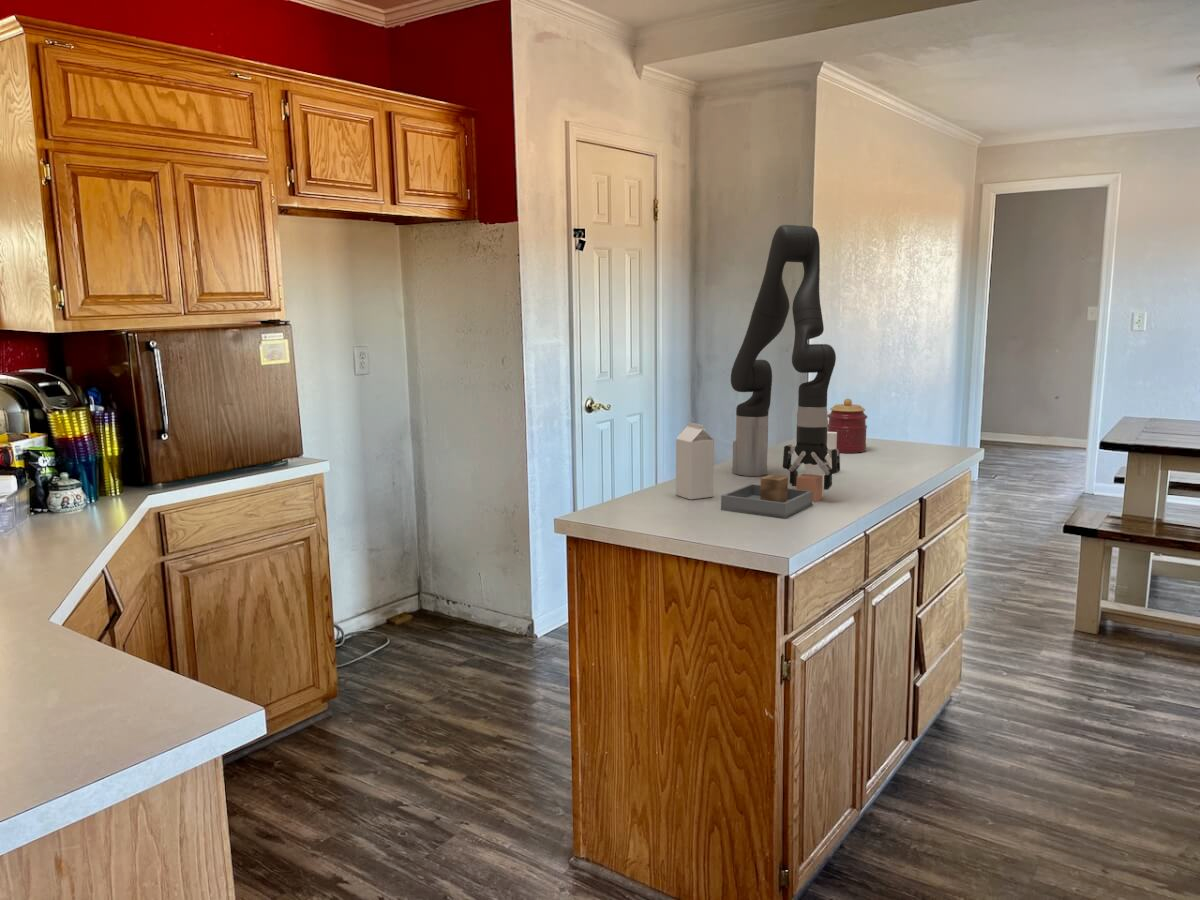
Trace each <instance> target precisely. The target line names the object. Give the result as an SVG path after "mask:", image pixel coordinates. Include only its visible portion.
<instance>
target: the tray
mask: <svg viewBox="0 0 1200 900" xmlns="http://www.w3.org/2000/svg"><path fill="white" fill-rule="evenodd" d="M760 491H761V484H756V483H750V484H747V485H744V486H742V487H740V488H737V489H734V490H731V491H729V492H725V493H724V494H722V495H720V510H721V511H722V510H723V511H728V512H729V511H730V512H736V513H743V514H750V515H757V516H766V517H773V518H779V519H788V518H789V517H791V516H794V515H795V514H797V513H799V512H801V511H804V510H805V509H808V508H809V507H811V506H813V502H812V498H813V491H807V490H798V489H796V488H789V487H788V497H787V501H786V502H784V503H782V502H774V501H767V500H760Z"/></svg>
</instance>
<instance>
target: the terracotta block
mask: <svg viewBox="0 0 1200 900" xmlns="http://www.w3.org/2000/svg"><path fill="white" fill-rule="evenodd" d="M823 488H824V475H813V474H807V473H802V474H800V475H798V476H797V481H796V486H795V489H798V490H807V491H813V498H812V503H816V502H818V501H820V500H822V499H823Z"/></svg>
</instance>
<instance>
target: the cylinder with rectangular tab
mask: <svg viewBox="0 0 1200 900" xmlns="http://www.w3.org/2000/svg"><path fill="white" fill-rule="evenodd" d="M836 447H837V432H827V448H828V449H836ZM825 458H826V460H827V461H828V463H829V466H830V467H831V469H832V458H831V457H830V456H829V454H827V455H826V457H825ZM803 469H804V471H803V472H804V474H813V475H822V476H824V475H825V473H824V471H823V470H822V469H821V468H820V467H819V465H818V464H817V465H812V464H804V468H803ZM835 474H836V473H834V474H833V475H835Z"/></svg>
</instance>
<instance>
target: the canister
mask: <svg viewBox="0 0 1200 900" xmlns="http://www.w3.org/2000/svg"><path fill="white" fill-rule="evenodd" d="M830 411H831V412H830V413H828V425H827V432H837V447H836V448H838V449H839V451H840V454H859V453H858V452H861V453H863V452H864V453H865V451H866V449H867V428H868V425H867V422H866V420H867V419H868V415H867V414H866V413H865V411H866V409H865V408H864V407H862V406H861V405H859V404H853V401H852V399H850V398H845V399H844V400H843V403H839V404H835V405H833V406H832V407H830Z"/></svg>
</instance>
